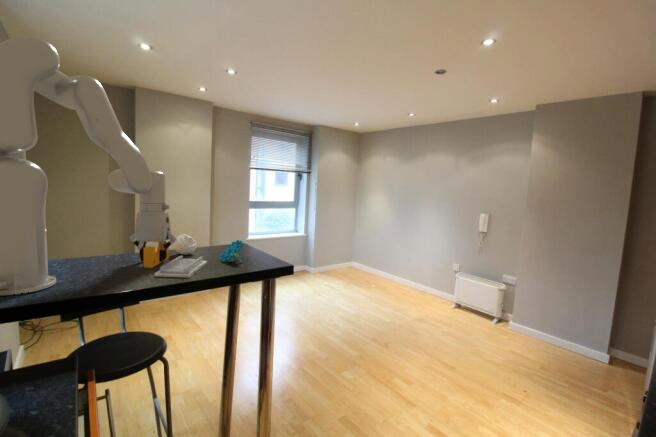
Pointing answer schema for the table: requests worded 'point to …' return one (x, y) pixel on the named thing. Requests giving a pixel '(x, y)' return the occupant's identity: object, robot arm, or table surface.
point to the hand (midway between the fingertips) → (153, 259)
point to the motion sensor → (185, 244)
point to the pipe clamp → (153, 256)
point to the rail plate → (181, 267)
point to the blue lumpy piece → (232, 251)
